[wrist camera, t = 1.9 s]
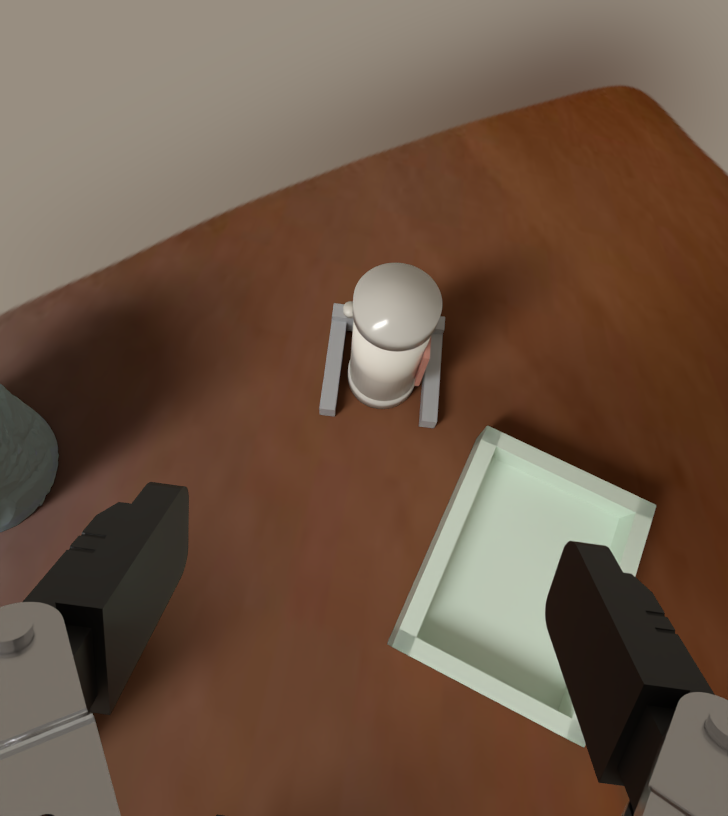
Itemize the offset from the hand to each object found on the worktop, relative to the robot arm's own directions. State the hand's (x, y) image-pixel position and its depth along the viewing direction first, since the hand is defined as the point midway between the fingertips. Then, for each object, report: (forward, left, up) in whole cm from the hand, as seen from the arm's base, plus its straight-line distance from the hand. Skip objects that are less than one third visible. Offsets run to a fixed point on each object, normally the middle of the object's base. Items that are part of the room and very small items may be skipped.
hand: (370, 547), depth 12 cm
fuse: (-13, -4, -23) cm, 27 cm away
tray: (-5, +9, -23) cm, 25 cm away
